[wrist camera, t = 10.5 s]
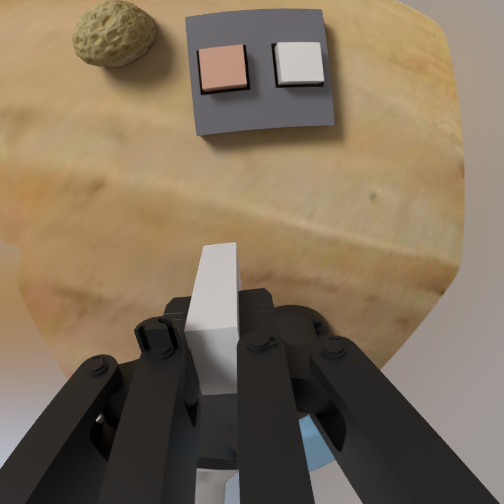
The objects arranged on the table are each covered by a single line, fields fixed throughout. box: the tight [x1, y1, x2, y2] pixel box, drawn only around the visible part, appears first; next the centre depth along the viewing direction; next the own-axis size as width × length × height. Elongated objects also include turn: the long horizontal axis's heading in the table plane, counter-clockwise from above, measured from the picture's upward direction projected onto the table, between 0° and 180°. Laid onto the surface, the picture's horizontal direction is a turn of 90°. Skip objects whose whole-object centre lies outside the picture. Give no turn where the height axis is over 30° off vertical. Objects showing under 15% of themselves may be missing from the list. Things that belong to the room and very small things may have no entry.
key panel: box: [185, 9, 335, 136], centre depth 35 cm, size 16×17×3 cm
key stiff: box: [199, 44, 247, 92], centre depth 33 cm, size 5×5×4 cm
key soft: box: [274, 42, 324, 85], centre depth 33 cm, size 5×5×4 cm
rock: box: [72, 0, 156, 67], centre depth 30 cm, size 10×11×10 cm
